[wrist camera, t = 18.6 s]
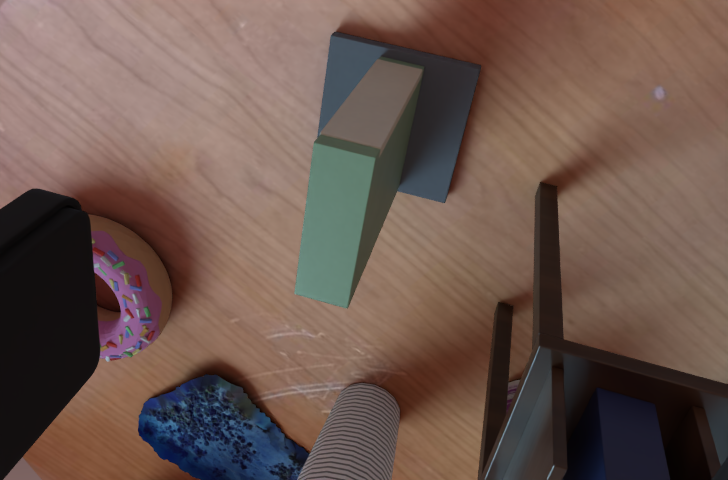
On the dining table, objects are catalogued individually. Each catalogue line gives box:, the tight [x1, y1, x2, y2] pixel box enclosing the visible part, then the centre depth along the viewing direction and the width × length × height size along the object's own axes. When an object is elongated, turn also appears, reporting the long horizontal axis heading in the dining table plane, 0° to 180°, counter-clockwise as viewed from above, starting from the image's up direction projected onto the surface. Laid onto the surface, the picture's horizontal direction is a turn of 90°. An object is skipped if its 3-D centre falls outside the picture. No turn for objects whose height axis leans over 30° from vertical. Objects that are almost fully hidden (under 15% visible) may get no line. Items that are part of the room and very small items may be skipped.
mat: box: [317, 32, 481, 203], centre depth 46 cm, size 10×10×1 cm
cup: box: [297, 383, 400, 480], centre depth 54 cm, size 8×8×16 cm
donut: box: [88, 214, 172, 361], centre depth 58 cm, size 14×14×5 cm
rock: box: [138, 374, 309, 480], centre depth 67 cm, size 15×17×2 cm
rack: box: [478, 182, 728, 480], centre depth 38 cm, size 12×20×24 cm, turn 80°
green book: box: [295, 56, 425, 308], centre depth 39 cm, size 9×3×15 cm, turn 171°
